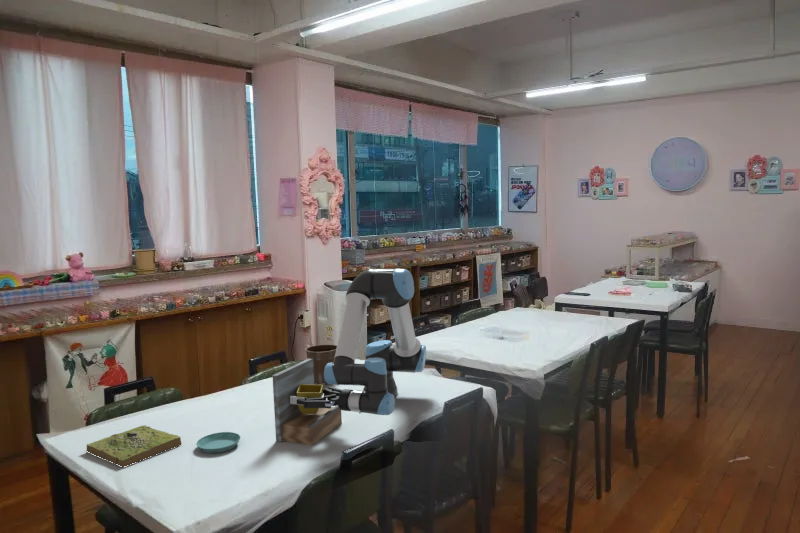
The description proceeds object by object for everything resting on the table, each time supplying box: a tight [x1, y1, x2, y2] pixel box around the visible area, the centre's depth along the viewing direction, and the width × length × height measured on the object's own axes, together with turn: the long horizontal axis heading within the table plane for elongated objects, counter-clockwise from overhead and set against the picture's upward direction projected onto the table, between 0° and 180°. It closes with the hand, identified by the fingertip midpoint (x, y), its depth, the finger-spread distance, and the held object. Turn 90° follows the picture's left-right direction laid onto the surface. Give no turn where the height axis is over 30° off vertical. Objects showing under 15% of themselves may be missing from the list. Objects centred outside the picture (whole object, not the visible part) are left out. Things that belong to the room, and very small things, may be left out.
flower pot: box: [297, 384, 324, 414], centre depth 214 cm, size 9×9×9 cm
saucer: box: [195, 431, 241, 454], centre depth 203 cm, size 15×15×3 cm
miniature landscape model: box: [86, 425, 182, 467], centre depth 204 cm, size 22×24×5 cm
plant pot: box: [304, 344, 337, 385], centre depth 278 cm, size 16×16×16 cm
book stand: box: [271, 358, 343, 446], centre depth 214 cm, size 14×24×24 cm, turn 157°
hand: (299, 394), depth 215 cm, fingers closed on flower pot, 11 cm apart
